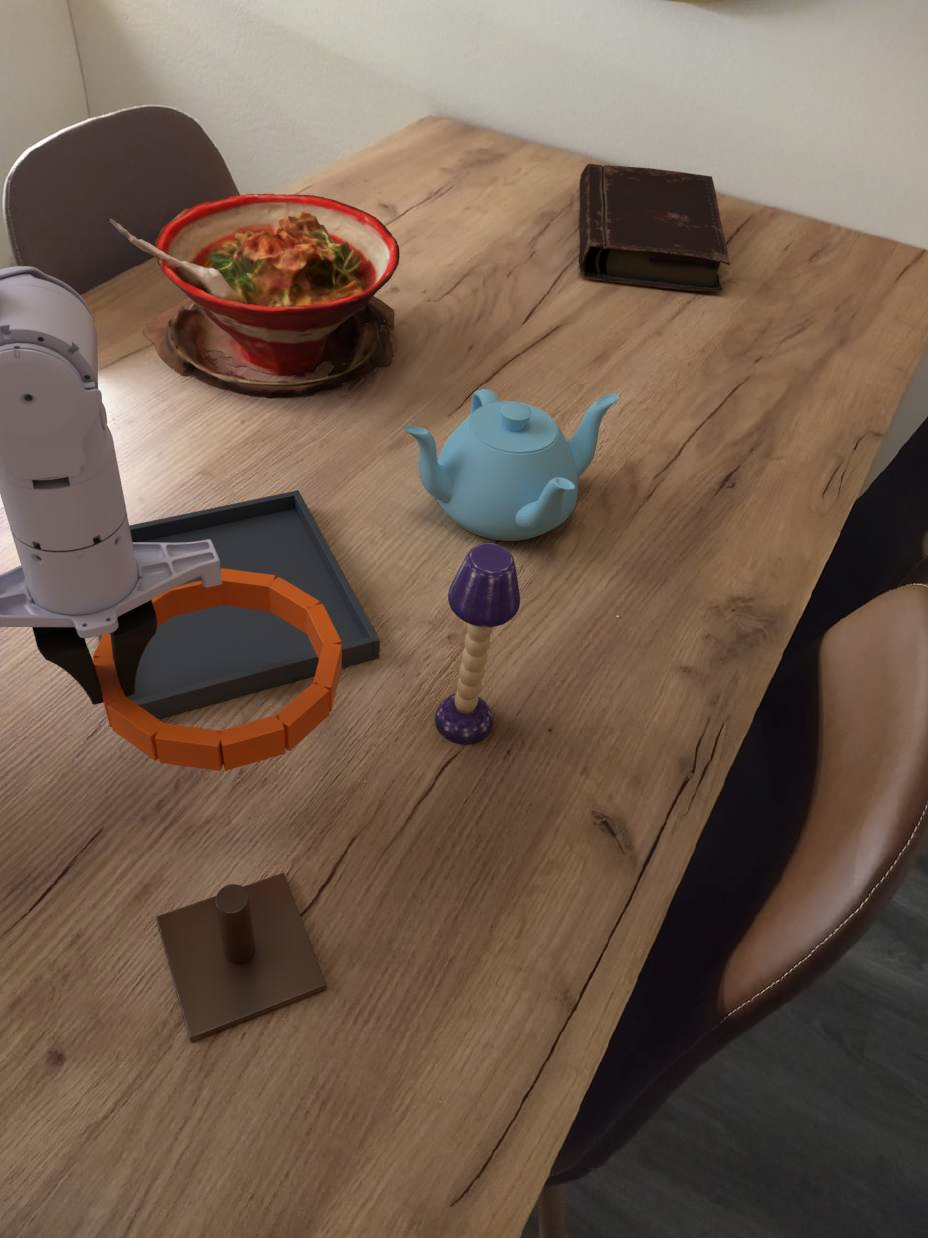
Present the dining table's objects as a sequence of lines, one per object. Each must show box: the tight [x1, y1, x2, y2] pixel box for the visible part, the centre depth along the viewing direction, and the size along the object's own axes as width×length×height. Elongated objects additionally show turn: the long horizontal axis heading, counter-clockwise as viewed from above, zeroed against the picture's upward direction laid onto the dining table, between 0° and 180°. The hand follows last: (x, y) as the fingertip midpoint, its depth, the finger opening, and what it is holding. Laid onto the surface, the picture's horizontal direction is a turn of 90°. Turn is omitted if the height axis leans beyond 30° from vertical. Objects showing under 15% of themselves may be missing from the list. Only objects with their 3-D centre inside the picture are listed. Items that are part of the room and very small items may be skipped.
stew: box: [107, 193, 401, 399], centre depth 102 cm, size 28×24×16 cm
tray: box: [97, 489, 381, 720], centre depth 80 cm, size 19×19×2 cm
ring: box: [92, 568, 343, 772], centre depth 65 cm, size 15×15×2 cm
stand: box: [155, 872, 327, 1043], centre depth 59 cm, size 8×8×7 cm
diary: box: [578, 163, 731, 293], centre depth 132 cm, size 19×25×5 cm
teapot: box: [402, 388, 620, 542], centre depth 90 cm, size 15×15×10 cm
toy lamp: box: [434, 542, 521, 745], centre depth 69 cm, size 5×5×17 cm
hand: (110, 688), depth 62 cm, fingers closed on ring, 1 cm apart
